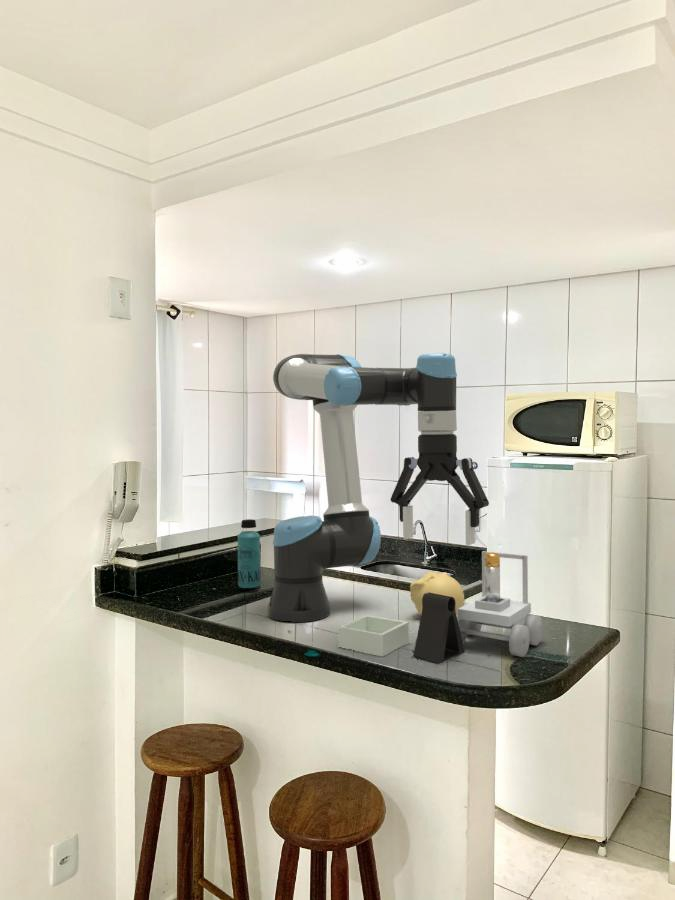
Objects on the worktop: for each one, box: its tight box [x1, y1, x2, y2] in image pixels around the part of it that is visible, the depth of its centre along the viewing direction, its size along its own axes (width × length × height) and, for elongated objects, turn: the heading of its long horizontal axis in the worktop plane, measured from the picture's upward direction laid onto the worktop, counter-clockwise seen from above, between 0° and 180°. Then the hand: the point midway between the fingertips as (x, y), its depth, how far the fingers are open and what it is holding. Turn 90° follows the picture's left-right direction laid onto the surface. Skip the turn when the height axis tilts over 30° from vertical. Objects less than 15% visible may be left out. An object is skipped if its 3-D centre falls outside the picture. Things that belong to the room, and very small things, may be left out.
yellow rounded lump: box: [409, 571, 465, 616], centre depth 164 cm, size 11×12×11 cm
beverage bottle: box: [236, 518, 262, 589], centre depth 194 cm, size 6×7×20 cm
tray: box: [338, 614, 410, 658], centre depth 145 cm, size 11×11×4 cm
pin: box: [485, 551, 501, 603], centre depth 142 cm, size 3×3×11 cm
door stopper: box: [412, 592, 466, 665], centre depth 138 cm, size 9×6×12 cm, turn 135°
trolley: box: [456, 551, 544, 658], centre depth 143 cm, size 15×14×18 cm
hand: (438, 541), depth 137 cm, fingers open, 13 cm apart
